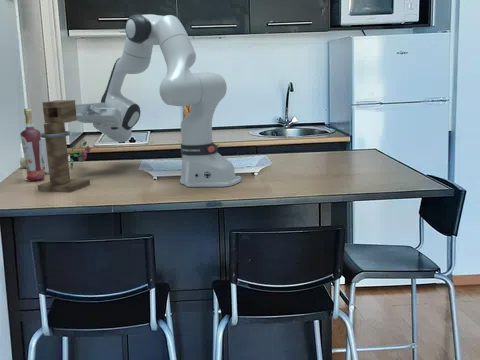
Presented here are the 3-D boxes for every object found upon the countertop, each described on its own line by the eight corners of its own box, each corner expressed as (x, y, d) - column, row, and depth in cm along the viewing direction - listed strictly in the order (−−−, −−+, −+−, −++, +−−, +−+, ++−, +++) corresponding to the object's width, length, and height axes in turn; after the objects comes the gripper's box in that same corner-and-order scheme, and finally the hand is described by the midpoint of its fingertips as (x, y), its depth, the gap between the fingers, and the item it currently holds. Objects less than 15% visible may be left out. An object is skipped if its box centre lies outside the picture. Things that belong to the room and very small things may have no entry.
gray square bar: (105, 110, 242) (105, 102, 242) (72, 113, 222) (71, 105, 222) (99, 110, 243) (99, 102, 243) (65, 113, 223) (65, 105, 223)
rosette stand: (90, 184, 225) (81, 99, 218) (68, 193, 213) (59, 103, 206) (59, 183, 230) (49, 100, 223) (36, 191, 218) (25, 103, 211)
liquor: (49, 179, 238) (41, 108, 232) (32, 183, 233) (23, 110, 227) (39, 177, 243) (31, 107, 237) (22, 180, 238) (13, 109, 232)
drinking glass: (55, 174, 248) (51, 138, 245) (40, 174, 249) (36, 138, 246) (63, 171, 255) (59, 135, 251) (49, 171, 256) (45, 136, 253)
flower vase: (34, 183, 270) (102, 166, 260) (16, 180, 259) (86, 163, 249) (31, 157, 272) (98, 139, 262) (13, 154, 261) (83, 135, 250)
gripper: (84, 113, 249) (64, 99, 236) (127, 113, 241) (109, 99, 229) (80, 128, 247) (60, 114, 235) (124, 128, 240) (105, 114, 227)
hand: (85, 106), depth 232 cm, fingers closed on gray square bar, 3 cm apart
